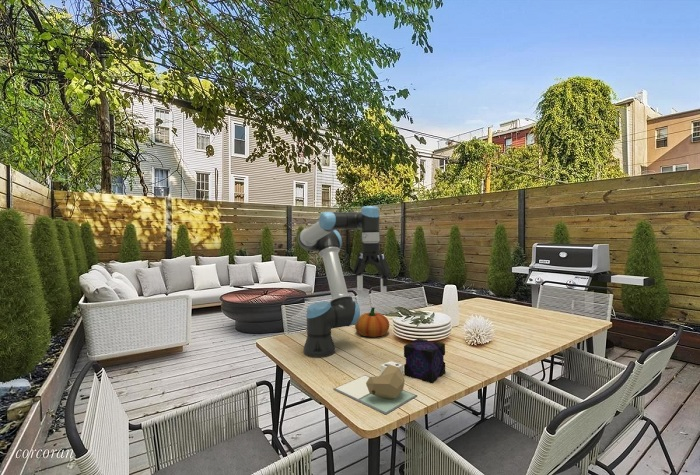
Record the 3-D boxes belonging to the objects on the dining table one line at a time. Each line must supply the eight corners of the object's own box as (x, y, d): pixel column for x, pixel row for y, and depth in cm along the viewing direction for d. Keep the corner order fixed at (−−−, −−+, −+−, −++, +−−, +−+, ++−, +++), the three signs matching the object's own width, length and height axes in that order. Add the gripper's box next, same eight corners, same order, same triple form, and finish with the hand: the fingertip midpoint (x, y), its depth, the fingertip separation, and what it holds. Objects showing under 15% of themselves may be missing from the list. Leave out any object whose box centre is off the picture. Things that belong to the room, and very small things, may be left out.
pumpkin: (349, 332, 198) (349, 306, 198) (378, 327, 206) (378, 302, 206) (365, 341, 180) (364, 313, 180) (396, 336, 188) (395, 309, 188)
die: (380, 380, 133) (380, 364, 132) (390, 375, 137) (390, 360, 137) (393, 385, 128) (393, 369, 128) (402, 380, 132) (402, 364, 132)
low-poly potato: (405, 388, 125) (379, 369, 129) (415, 369, 120) (387, 350, 124) (386, 417, 113) (358, 395, 118) (396, 397, 108) (366, 375, 112)
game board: (333, 389, 125) (333, 388, 125) (365, 375, 137) (365, 374, 137) (385, 414, 107) (385, 413, 107) (417, 396, 119) (417, 395, 119)
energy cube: (418, 366, 146) (418, 338, 146) (445, 373, 138) (444, 343, 138) (404, 375, 137) (403, 345, 137) (432, 383, 129) (431, 352, 129)
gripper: (344, 242, 153) (345, 290, 153) (387, 243, 135) (388, 296, 135) (356, 241, 158) (357, 287, 158) (399, 242, 140) (400, 294, 140)
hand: (371, 292), depth 147 cm, fingers open, 13 cm apart
